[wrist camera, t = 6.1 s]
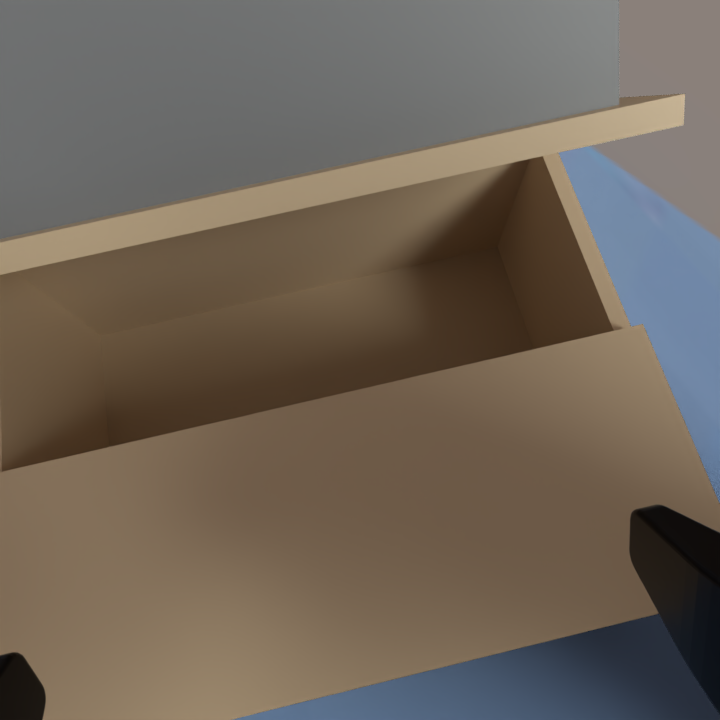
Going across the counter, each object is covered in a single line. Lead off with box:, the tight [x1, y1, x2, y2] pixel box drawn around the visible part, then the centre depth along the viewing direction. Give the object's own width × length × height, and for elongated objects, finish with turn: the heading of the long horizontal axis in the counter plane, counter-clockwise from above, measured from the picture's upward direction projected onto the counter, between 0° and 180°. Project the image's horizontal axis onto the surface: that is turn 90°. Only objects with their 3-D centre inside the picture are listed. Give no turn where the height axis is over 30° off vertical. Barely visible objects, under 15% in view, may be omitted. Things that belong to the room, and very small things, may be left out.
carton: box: [0, 153, 720, 720], centre depth 18 cm, size 14×18×8 cm
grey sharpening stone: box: [0, 0, 685, 275], centre depth 13 cm, size 7×18×6 cm
